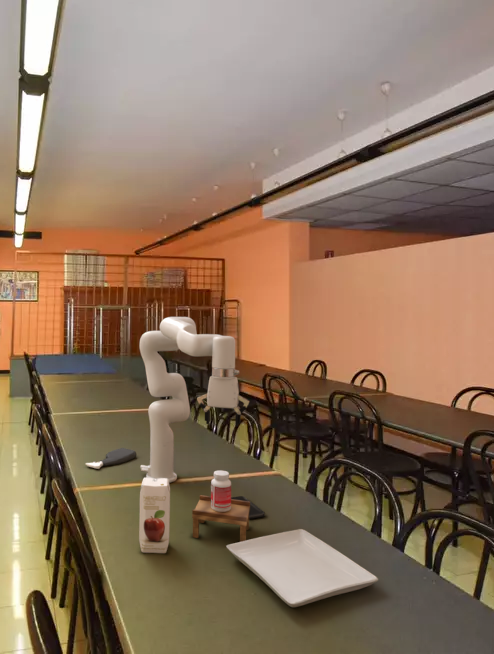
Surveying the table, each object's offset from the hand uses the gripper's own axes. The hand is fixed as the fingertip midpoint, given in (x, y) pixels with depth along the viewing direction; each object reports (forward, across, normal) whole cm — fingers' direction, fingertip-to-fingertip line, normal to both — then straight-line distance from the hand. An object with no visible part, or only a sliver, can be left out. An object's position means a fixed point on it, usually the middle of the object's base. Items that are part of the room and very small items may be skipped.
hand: (222, 424), depth 149 cm
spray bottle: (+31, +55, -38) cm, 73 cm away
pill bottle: (+24, -2, +11) cm, 26 cm away
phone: (+30, -7, -7) cm, 32 cm away
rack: (+30, -2, +12) cm, 33 cm away
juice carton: (+30, +15, +27) cm, 43 cm away
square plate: (+30, -24, +28) cm, 48 cm away
